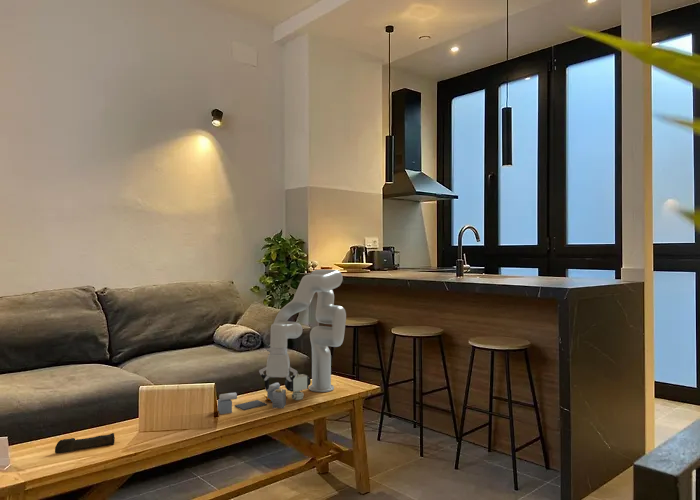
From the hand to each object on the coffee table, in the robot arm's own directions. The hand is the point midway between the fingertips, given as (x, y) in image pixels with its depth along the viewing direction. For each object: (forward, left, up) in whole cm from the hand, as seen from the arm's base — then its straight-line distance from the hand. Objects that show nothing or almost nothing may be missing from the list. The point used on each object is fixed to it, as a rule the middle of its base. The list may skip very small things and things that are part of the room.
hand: (278, 389), depth 236 cm
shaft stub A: (-9, -4, -8) cm, 13 cm away
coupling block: (-1, 0, -8) cm, 8 cm away
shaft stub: (+8, -21, -8) cm, 23 cm away
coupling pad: (-1, -13, -8) cm, 15 cm away
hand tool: (+53, -57, -8) cm, 79 cm away
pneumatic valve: (-13, +6, -8) cm, 16 cm away
